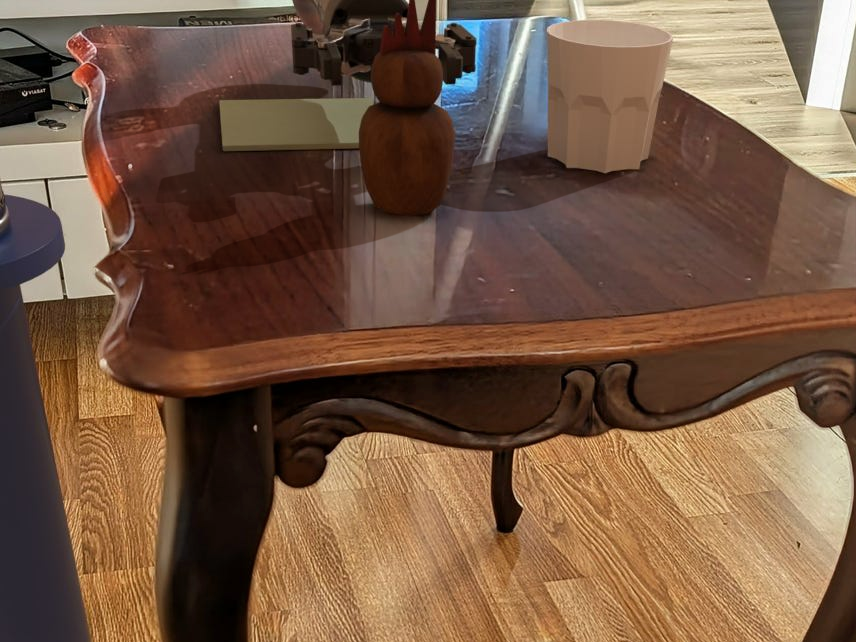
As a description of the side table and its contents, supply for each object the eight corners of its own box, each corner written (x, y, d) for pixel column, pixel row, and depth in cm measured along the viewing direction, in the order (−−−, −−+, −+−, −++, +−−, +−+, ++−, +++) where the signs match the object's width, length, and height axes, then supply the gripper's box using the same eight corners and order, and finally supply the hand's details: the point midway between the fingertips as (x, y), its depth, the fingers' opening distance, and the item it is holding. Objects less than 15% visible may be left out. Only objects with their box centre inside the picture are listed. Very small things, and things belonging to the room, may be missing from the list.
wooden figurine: (455, 198, 87) (461, -17, 79) (448, 225, 83) (454, -1, 74) (366, 193, 87) (363, -22, 79) (355, 219, 83) (349, -6, 74)
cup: (680, 169, 95) (697, 42, 90) (575, 181, 92) (586, 50, 86) (617, 135, 103) (630, 17, 97) (518, 146, 99) (525, 23, 93)
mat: (222, 151, 95) (222, 145, 94) (219, 105, 106) (219, 99, 106) (391, 147, 97) (391, 141, 97) (371, 103, 108) (370, 97, 108)
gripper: (280, -25, 94) (294, 16, 81) (451, -24, 97) (491, 16, 84) (285, 71, 98) (300, 124, 85) (448, 70, 101) (487, 121, 88)
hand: (395, 71), depth 85 cm, fingers open, 8 cm apart
